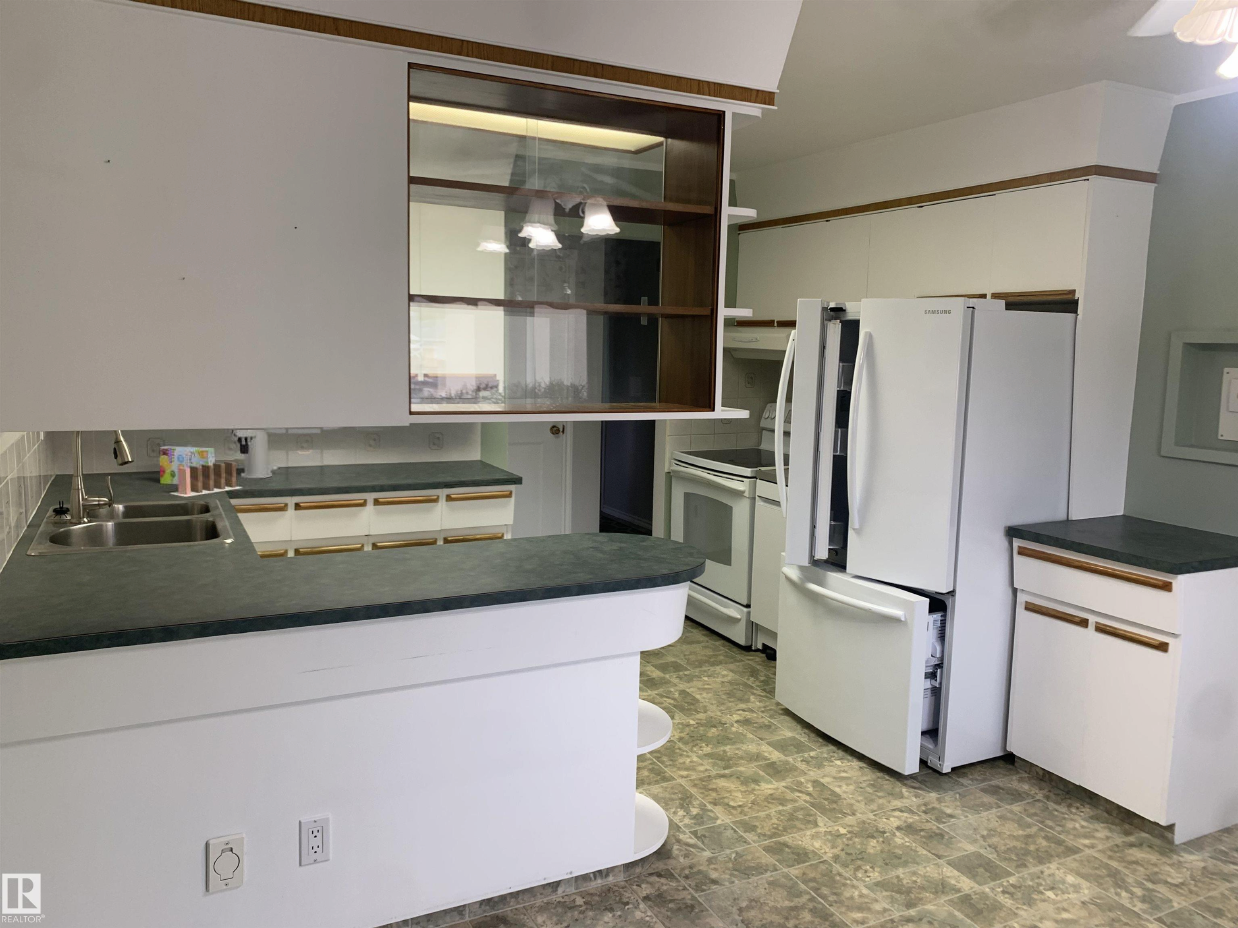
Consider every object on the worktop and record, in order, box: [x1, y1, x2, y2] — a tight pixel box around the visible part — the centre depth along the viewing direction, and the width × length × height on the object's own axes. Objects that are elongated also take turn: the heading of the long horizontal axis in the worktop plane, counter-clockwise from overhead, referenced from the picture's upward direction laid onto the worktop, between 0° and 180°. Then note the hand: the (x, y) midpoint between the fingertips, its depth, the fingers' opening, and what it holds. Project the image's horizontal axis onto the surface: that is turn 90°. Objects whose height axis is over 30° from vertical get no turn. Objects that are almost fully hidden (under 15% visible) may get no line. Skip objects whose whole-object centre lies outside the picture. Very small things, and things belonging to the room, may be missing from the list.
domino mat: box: [169, 485, 243, 498], centre depth 347 cm, size 25×10×1 cm, turn 150°
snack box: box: [158, 445, 216, 485], centre depth 360 cm, size 21×6×15 cm, turn 84°
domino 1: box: [177, 467, 191, 495], centre depth 338 cm, size 2×5×10 cm, turn 60°
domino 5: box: [223, 461, 237, 488], centre depth 355 cm, size 2×5×10 cm, turn 60°
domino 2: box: [190, 466, 203, 493], centre depth 342 cm, size 2×5×10 cm, turn 60°
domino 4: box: [213, 462, 225, 489], centre depth 351 cm, size 2×5×10 cm, turn 60°
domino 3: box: [201, 464, 214, 491], centre depth 347 cm, size 2×5×10 cm, turn 60°
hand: (244, 453), depth 359 cm, fingers closed
